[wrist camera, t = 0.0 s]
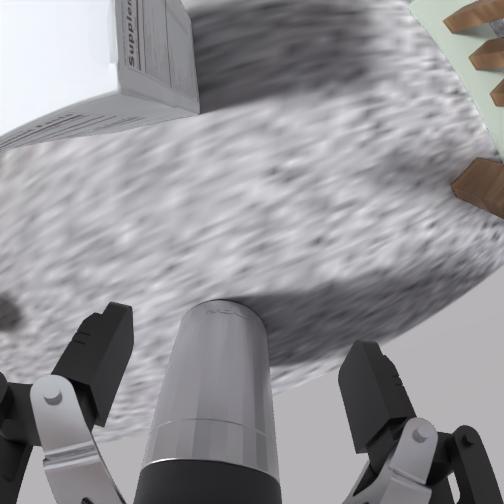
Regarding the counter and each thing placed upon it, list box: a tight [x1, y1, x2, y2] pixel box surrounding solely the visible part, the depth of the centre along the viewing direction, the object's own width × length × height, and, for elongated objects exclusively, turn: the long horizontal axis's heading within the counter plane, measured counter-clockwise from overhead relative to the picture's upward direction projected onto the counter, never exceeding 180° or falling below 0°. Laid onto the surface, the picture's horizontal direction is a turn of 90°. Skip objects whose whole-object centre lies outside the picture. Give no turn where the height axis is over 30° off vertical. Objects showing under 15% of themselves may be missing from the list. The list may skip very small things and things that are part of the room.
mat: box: [406, 0, 504, 164], centre depth 20 cm, size 26×10×1 cm, turn 44°
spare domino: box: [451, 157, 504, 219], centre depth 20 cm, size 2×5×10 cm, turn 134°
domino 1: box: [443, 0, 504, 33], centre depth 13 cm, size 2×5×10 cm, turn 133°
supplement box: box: [0, 0, 200, 151], centre depth 13 cm, size 10×9×17 cm
